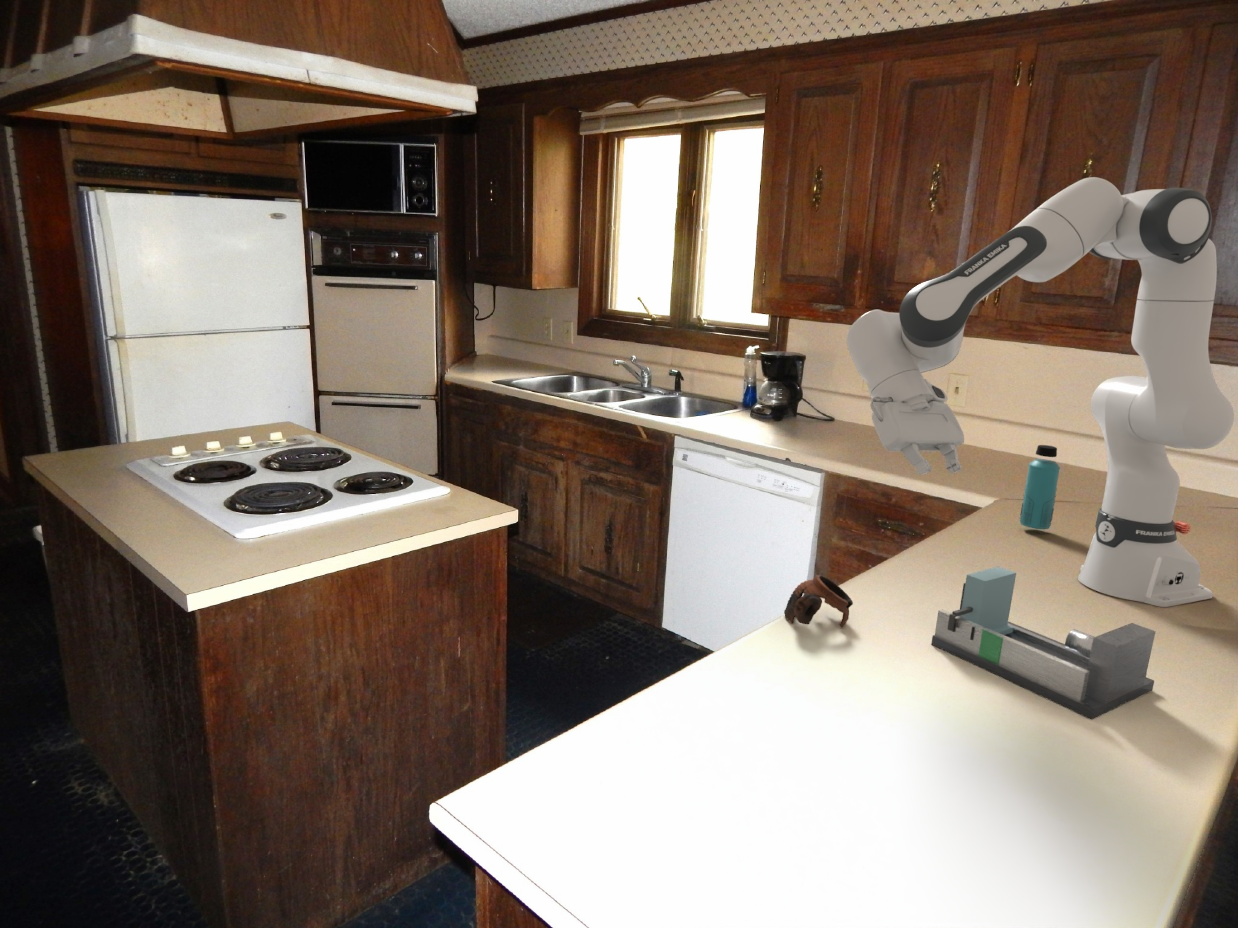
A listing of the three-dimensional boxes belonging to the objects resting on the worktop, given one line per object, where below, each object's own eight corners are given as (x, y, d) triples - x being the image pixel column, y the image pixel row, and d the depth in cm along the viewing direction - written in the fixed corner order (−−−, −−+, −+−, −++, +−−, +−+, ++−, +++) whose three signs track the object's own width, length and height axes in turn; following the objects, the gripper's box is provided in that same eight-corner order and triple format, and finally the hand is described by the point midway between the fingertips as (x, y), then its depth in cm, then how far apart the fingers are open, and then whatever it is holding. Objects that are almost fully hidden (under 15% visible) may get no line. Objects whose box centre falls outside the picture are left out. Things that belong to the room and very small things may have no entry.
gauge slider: (932, 635, 121) (941, 577, 119) (983, 619, 128) (992, 564, 126) (962, 649, 117) (971, 588, 115) (1012, 632, 124) (1022, 574, 122)
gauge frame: (931, 644, 122) (939, 586, 120) (993, 624, 131) (1002, 569, 129) (1091, 719, 103) (1105, 651, 101) (1152, 690, 111) (1166, 626, 109)
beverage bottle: (1053, 537, 180) (1069, 450, 175) (1021, 534, 181) (1036, 447, 176) (1044, 528, 186) (1059, 444, 181) (1013, 525, 187) (1027, 441, 183)
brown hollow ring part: (789, 605, 136) (819, 568, 134) (834, 644, 132) (865, 605, 130) (766, 611, 126) (797, 570, 124) (813, 653, 121) (847, 611, 119)
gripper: (882, 385, 125) (922, 463, 120) (949, 391, 138) (988, 461, 133) (852, 407, 129) (889, 483, 124) (919, 410, 143) (956, 479, 137)
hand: (941, 472), depth 129 cm, fingers open, 8 cm apart
